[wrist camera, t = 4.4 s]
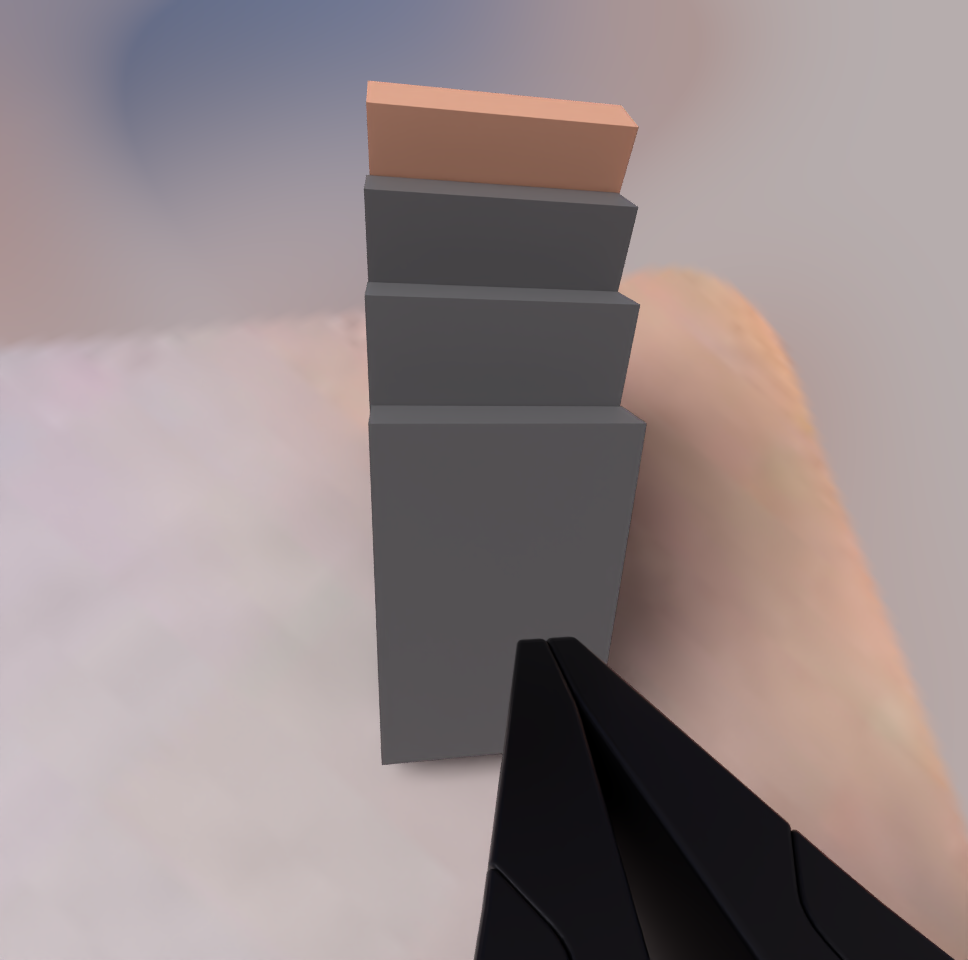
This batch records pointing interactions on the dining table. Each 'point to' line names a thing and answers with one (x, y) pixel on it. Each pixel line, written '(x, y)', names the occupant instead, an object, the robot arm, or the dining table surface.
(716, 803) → the robot arm
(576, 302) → the tile
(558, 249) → the tile
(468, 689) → the tile
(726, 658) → the dining table surface
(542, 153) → the end tile
